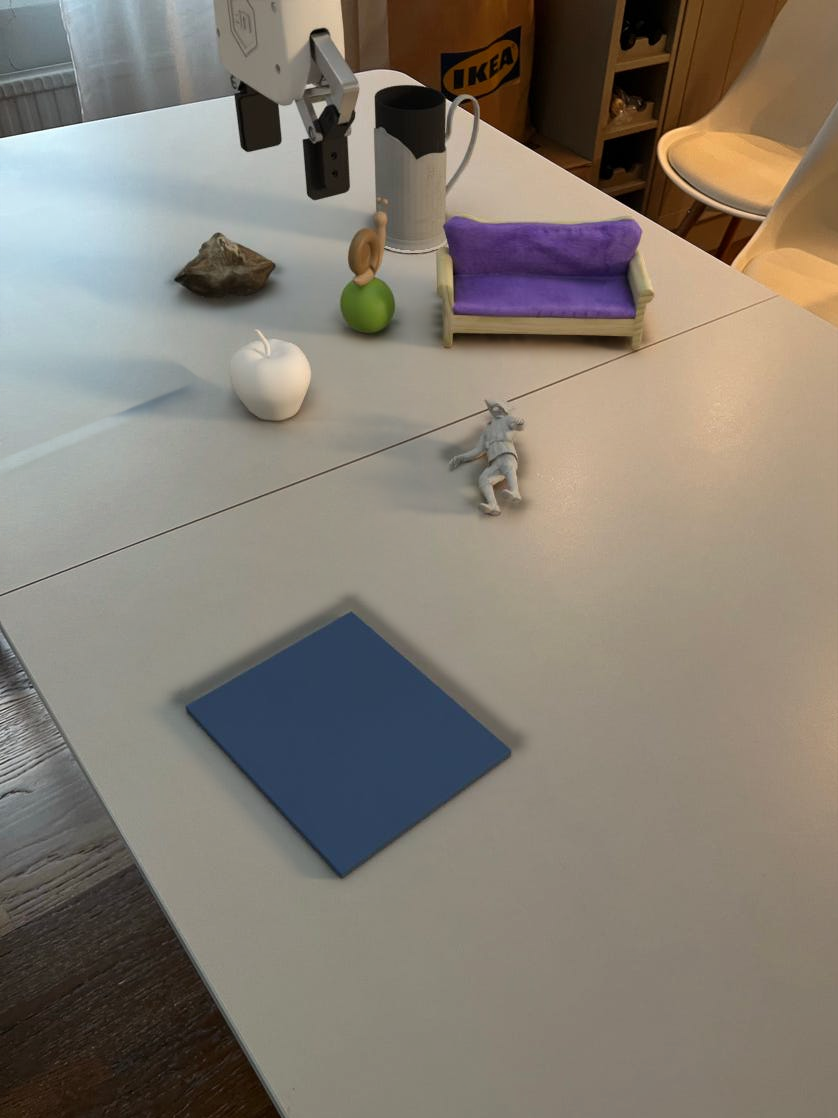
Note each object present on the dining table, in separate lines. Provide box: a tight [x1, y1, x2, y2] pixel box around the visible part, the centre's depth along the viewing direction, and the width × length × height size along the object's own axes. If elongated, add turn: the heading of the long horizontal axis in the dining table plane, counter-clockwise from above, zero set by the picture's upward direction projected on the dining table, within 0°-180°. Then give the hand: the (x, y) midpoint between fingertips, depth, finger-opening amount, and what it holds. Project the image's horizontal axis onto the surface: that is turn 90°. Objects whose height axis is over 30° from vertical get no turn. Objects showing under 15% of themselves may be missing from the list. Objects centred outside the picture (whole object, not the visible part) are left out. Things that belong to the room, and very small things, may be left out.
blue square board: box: [185, 611, 512, 879], centre depth 69 cm, size 14×17×1 cm
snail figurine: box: [339, 197, 396, 334], centre depth 101 cm, size 5×6×12 cm
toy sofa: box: [435, 212, 656, 351], centre depth 102 cm, size 21×9×10 cm, turn 92°
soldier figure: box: [448, 397, 527, 516], centre depth 88 cm, size 8×5×12 cm
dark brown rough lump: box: [173, 231, 277, 299], centre depth 107 cm, size 8×7×10 cm
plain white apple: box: [228, 329, 312, 422], centre depth 91 cm, size 7×7×8 cm
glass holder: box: [373, 84, 481, 251], centre depth 115 cm, size 9×14×15 cm, turn 132°
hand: (294, 170), depth 76 cm, fingers open, 9 cm apart
